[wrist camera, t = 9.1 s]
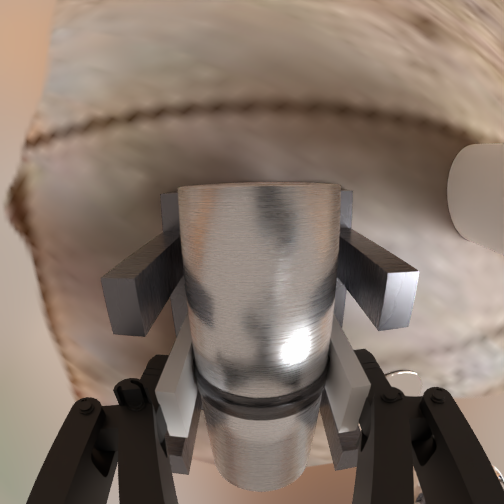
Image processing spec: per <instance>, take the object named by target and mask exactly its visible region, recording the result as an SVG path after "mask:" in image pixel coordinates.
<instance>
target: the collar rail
mask: <svg viewBox="0 0 504 504" xmlns="http://www.w3.org/2000/svg"><path fill="white" fill-rule="evenodd" d="M160 195H161V211H162V225H163V233H161V234H160V235H159V236H157V237H156V238H154V239H153V240H151V241H150V242H149V243H147V244H146V245H144V246H143V247H142V248H140V249H139V250H137V251H136V252H135V253H133V254H132V255H131V256H129V257H128V258H127V259H125V260H124V261H123V262H121V263H120V264H118V265H117V266H116V267H115V268H113V269H112V270H111V271H109V272H108V273H107V274H105V275H104V276H103V277H101V282H102V287H103V292H104V297H105V302H106V306H107V310H108V315H109V319H110V323H111V327H112V331H113V334H118V335H129V336H142V337H145V336H146V335H147V333H148V331H149V330H150V328H151V326H152V325H153V323H154V322H155V320H156V318H157V317H158V315H159V313H160V312H161V310H162V309H163V307H164V305H165V304H166V302H167V300H168V299H169V297H170V299H171V306H172V313H173V319H174V326H175V332H176V338H177V336H178V333H179V331H180V329H181V326H182V324H183V322H184V319H185V317H186V315H187V313H188V307H187V298H186V289H185V280H184V270H183V259H182V248H181V235H180V221H179V204H178V192H170V193H163V194H160ZM352 196H353V191H351V190H341V205H340V234H339V253H338V268H337V281H336V293H335V303H334V315H335V317H336V319H337V321H338V323H339V324H340V326H341V328H342V323H343V315H344V307H345V299H346V290H348V291H349V293H350V294H351V295H352V297H353V298H354V299H355V300H356V302H357V303H358V304H359V306H360V307H361V308H362V310H363V311H364V312H365V314H366V315H367V316H368V318H369V319H370V320H371V322H372V323H373V324H374V326H375V327H376V328H377V330H378V331H382V330H390V329H397V328H404V327H408V326H409V322H410V318H411V314H412V309H413V304H414V299H415V294H416V289H417V283H418V278H419V272H420V271H418V270H417V269H415V268H414V267H412V266H411V265H409V264H408V263H406V262H404V261H403V260H401V259H400V258H398V257H397V256H395V255H394V254H392V253H390V252H389V251H387V250H386V249H384V248H382V247H381V246H379V245H377V244H376V243H374V242H373V241H371V240H369V239H368V238H366V237H364V236H363V235H361V234H359V233H358V232H356V231H354V230H353V229H351V225H352ZM319 408H320V412H321V416H322V420H323V424H324V428H325V432H326V436H327V440H328V444H329V448H330V452H331V456H332V460H333V464H334V468H335V471H336V470H342V469H347V468H352V467H357V460H358V448H359V445H358V447H355V446H356V443H357V440H358V438H359V435H360V433H361V431H360V429H359V426H357V429H356V430H355V431H349V432H343V433H339V432H338V429H337V425H336V422H335V419H334V415H333V412H332V409H331V405H330V402H329V399H328V395H327V392H326V389H325V388H324V390H323V392H322V397H321V402H320V407H319ZM201 410H204V409H203V404H202V399H201V394H200V392H199V390H198V392H197V397H196V401H195V406H194V410H193V415H192V419H191V424H190V429H189V433H188V438H186V437H177V436H170V435H169V432H168V429H167V431H166V434H165V439H166V441H167V446H168V452H169V459H170V465H171V470H172V473H179V474H187V475H189V471H190V465H191V460H192V454H193V449H194V443H195V438H196V433H197V427H198V422H199V417H200V412H201Z"/></svg>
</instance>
